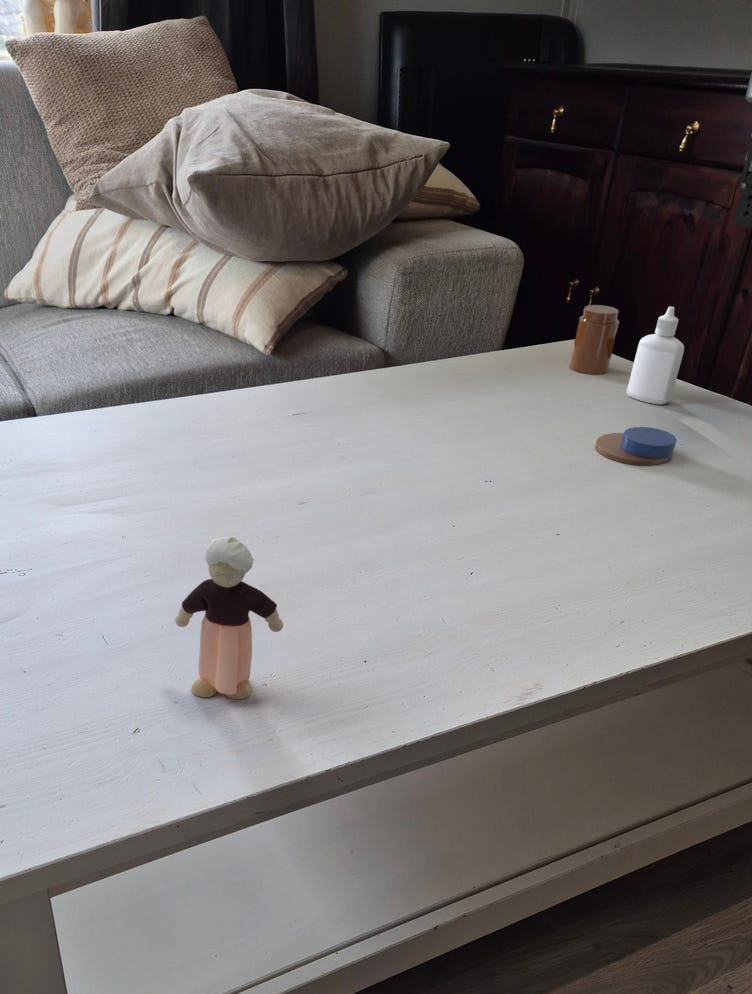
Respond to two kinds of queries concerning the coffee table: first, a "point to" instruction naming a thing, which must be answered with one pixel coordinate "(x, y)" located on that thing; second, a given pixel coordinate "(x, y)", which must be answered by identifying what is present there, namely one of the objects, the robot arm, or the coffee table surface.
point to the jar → (595, 339)
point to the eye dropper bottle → (657, 363)
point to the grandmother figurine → (226, 620)
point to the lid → (648, 442)
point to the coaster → (621, 451)
